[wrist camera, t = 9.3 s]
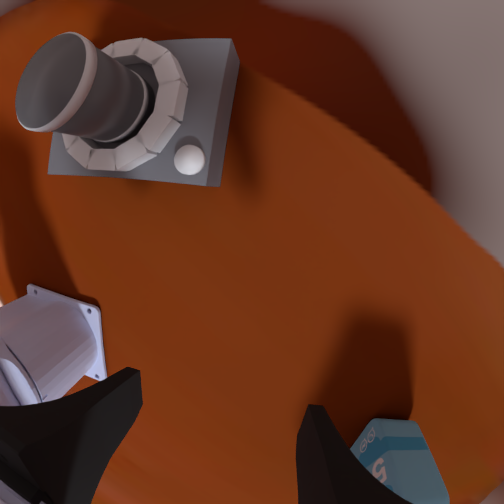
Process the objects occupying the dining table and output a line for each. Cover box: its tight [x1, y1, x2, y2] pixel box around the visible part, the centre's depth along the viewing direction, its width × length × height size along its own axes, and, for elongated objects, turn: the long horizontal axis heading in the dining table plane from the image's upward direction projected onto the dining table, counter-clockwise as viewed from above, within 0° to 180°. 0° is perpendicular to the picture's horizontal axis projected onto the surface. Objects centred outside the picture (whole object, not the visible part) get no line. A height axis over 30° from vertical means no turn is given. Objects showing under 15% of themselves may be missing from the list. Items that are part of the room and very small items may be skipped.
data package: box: [350, 418, 449, 504], centre depth 17 cm, size 12×4×12 cm, turn 165°
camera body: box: [48, 38, 240, 187], centre depth 16 cm, size 12×9×5 cm
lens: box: [15, 32, 155, 144], centre depth 11 cm, size 5×5×7 cm
